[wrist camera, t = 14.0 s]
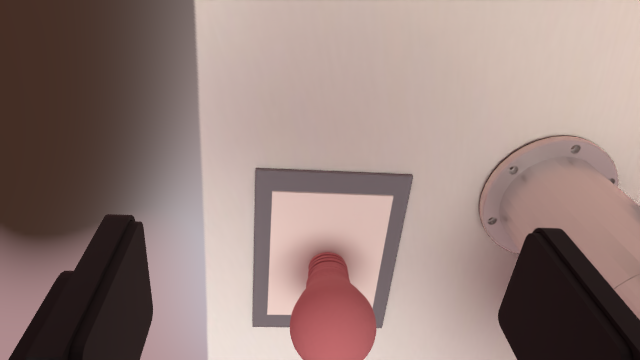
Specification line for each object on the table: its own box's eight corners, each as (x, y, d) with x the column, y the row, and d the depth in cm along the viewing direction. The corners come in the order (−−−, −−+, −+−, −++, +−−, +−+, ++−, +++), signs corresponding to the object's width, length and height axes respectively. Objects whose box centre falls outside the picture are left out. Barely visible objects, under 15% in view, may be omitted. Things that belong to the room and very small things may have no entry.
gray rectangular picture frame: (255, 168, 42) (255, 171, 42) (411, 174, 44) (413, 177, 43) (252, 323, 52) (252, 328, 51) (381, 325, 53) (382, 329, 53)
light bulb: (293, 227, 45) (296, 325, 35) (367, 233, 46) (392, 330, 36) (285, 285, 48) (285, 390, 38) (354, 289, 49) (373, 393, 39)
